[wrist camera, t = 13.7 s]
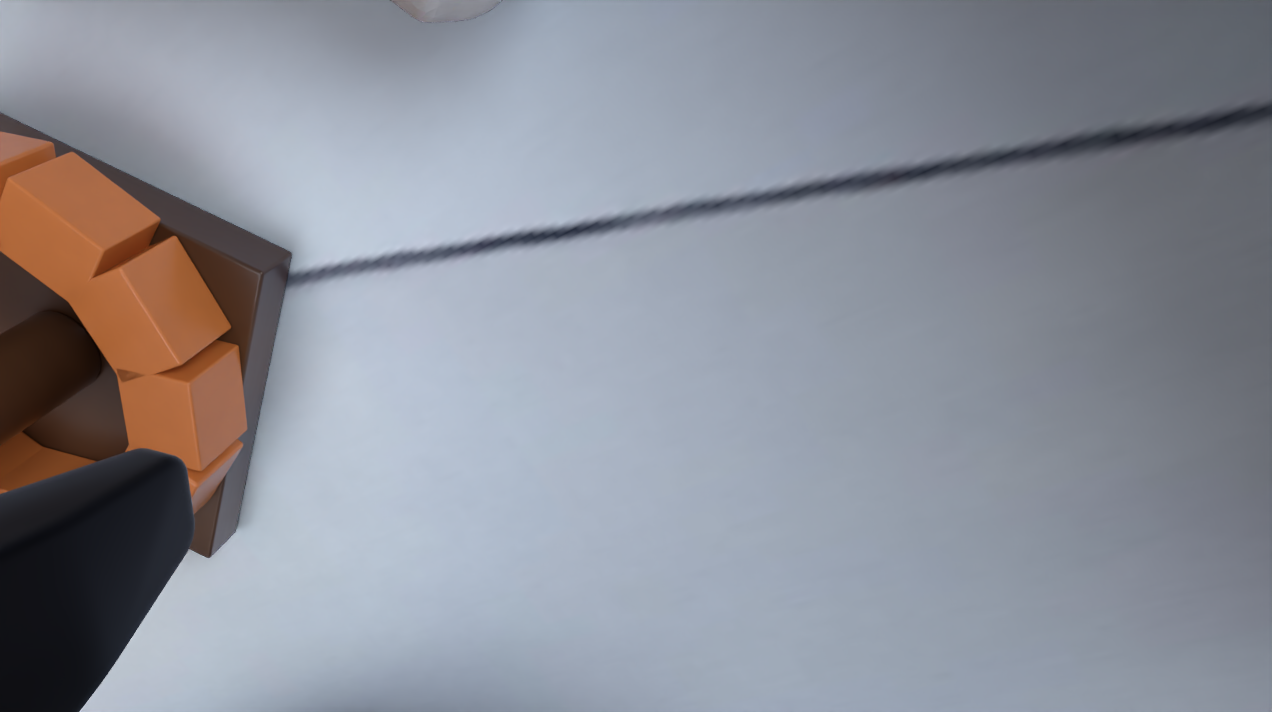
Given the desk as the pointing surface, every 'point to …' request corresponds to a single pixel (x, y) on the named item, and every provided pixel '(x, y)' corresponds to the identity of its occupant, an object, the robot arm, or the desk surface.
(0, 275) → the post
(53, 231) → the ring
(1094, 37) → the desk surface
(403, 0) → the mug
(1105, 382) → the desk surface
